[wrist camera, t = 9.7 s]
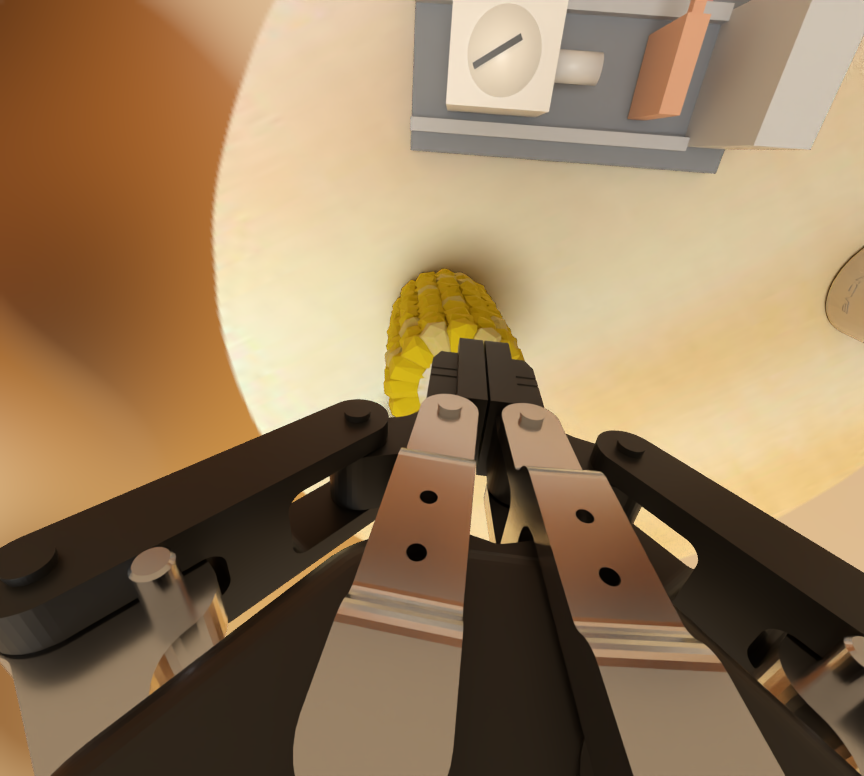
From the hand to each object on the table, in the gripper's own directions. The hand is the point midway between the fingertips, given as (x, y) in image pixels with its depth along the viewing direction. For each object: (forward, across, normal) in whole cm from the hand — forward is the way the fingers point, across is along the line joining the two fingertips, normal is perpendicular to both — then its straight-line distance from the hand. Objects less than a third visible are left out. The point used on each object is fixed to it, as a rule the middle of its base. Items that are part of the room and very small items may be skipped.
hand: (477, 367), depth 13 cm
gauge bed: (+24, -6, -11) cm, 27 cm away
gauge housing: (+23, -2, -11) cm, 25 cm away
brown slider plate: (+23, -10, -12) cm, 28 cm away
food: (+24, +1, +8) cm, 26 cm away
